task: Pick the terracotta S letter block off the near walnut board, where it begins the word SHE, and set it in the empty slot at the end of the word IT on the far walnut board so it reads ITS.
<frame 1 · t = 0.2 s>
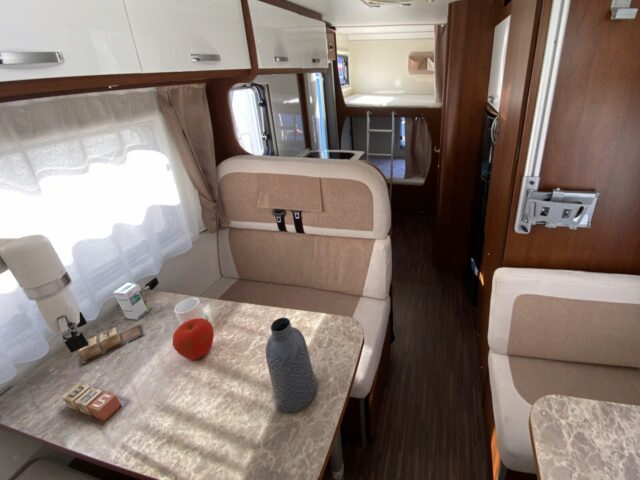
hand: (79, 337, 78), 30 cm above the table, tool pointing down, fingers open, 9 cm apart
mug: (193, 323, 121), on the table
vase: (296, 393, 92), on the table
s block: (108, 410, 89), point 1 cm above the table, touching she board
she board: (96, 408, 91), on the table
syrup box: (139, 315, 126), on the table
apple: (200, 353, 107), on the table
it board: (113, 345, 112), on the table
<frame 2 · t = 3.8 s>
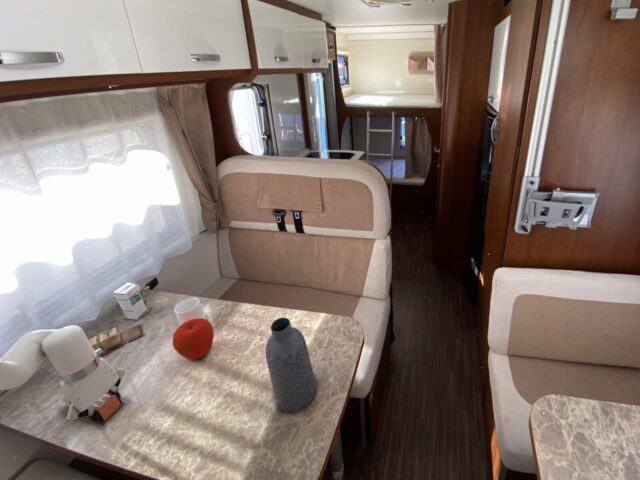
hand: (107, 409, 89), 2 cm above the table, tool pointing down, fingers closed on s block, 4 cm apart
s block: (108, 410, 89), point 1 cm above the table, touching gripper, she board
everything else where it was.
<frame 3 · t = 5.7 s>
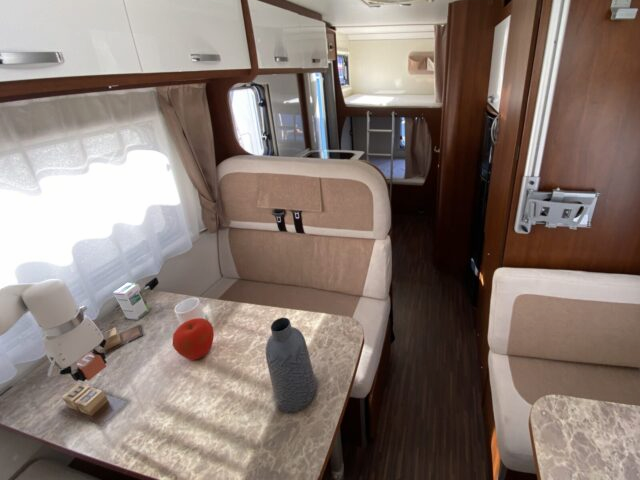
hand: (91, 370, 86), 15 cm above the table, tool pointing down, fingers closed on s block, 4 cm apart
s block: (92, 371, 86), point 14 cm above the table, touching gripper
everything else where it was.
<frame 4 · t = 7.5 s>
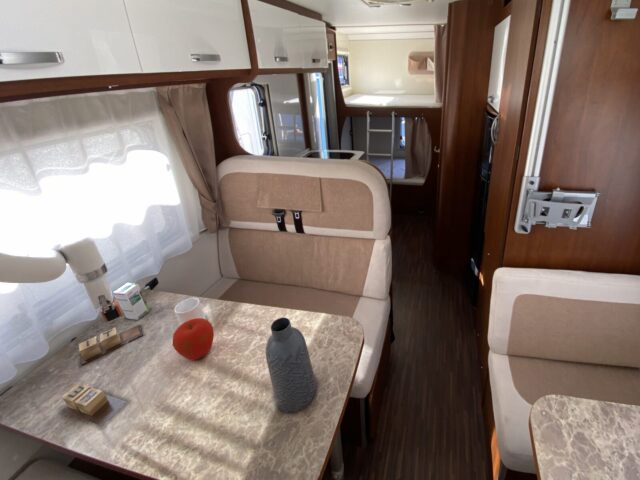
hand: (113, 314, 106), 15 cm above the table, tool pointing down, fingers closed on s block, 4 cm apart
s block: (114, 315, 106), point 15 cm above the table, touching gripper
everything else where it was.
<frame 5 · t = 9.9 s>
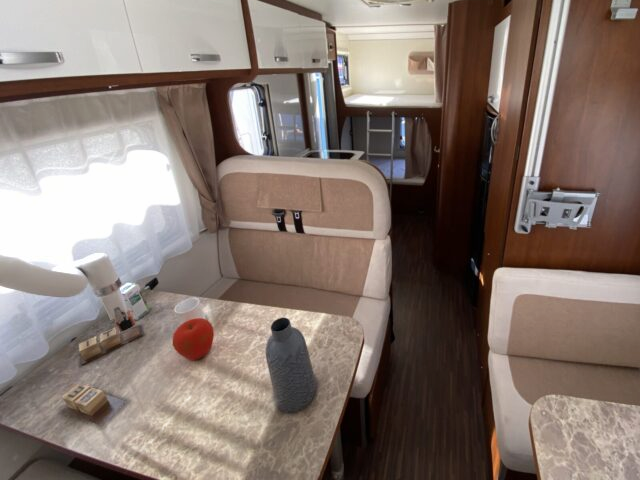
hand: (126, 324, 113), 6 cm above the table, tool pointing down, fingers closed on s block, 4 cm apart
s block: (127, 325, 113), point 6 cm above the table, touching gripper
everything else where it was.
when the fingers open (2 cm above the table, at t = 11.4 s): s block stays where it is, resting on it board.
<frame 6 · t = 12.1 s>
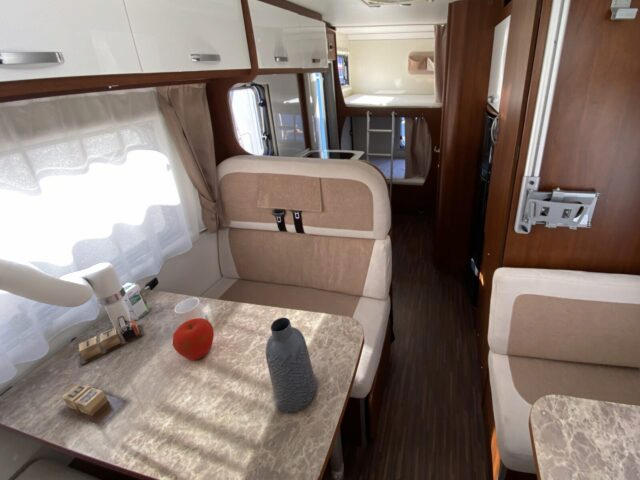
hand: (129, 330, 114), 3 cm above the table, tool pointing down, fingers open, 9 cm apart
s block: (131, 333, 115), point 1 cm above the table, touching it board
everything else where it was.
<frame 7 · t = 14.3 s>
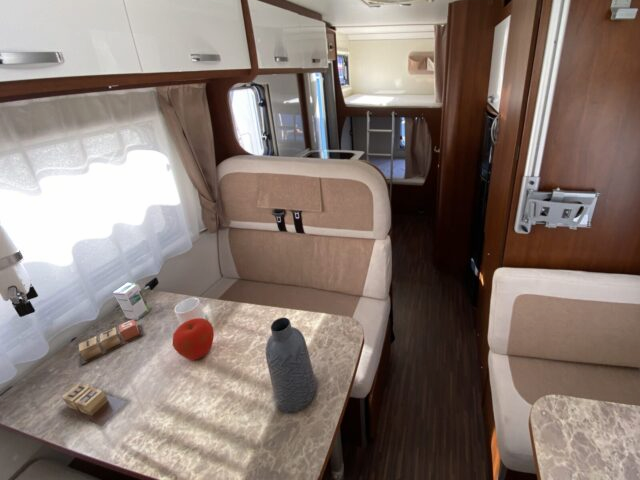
hand: (29, 306, 95), 27 cm above the table, tool pointing down, fingers open, 9 cm apart
nothing on the table moved.
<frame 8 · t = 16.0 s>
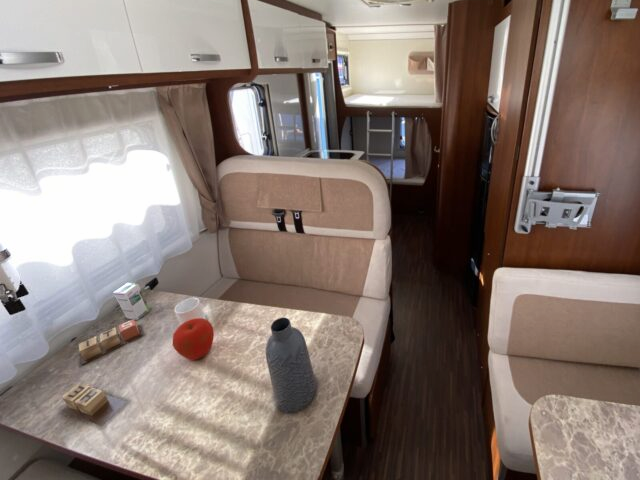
hand: (20, 304, 94), 28 cm above the table, tool pointing down, fingers open, 9 cm apart
nothing on the table moved.
at the end: s block 0.1 cm from the target spot on the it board, point 1.3 cm above the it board's base; s block tilted 0°; the gripper is holding nothing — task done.
